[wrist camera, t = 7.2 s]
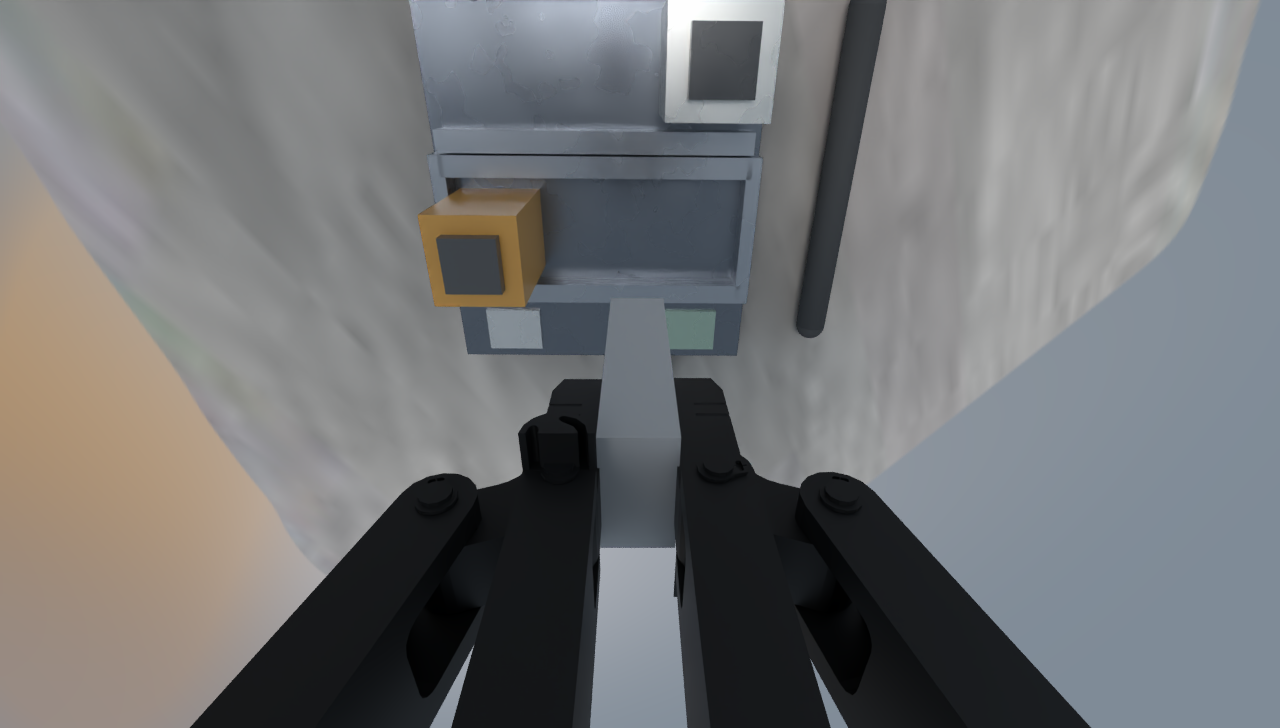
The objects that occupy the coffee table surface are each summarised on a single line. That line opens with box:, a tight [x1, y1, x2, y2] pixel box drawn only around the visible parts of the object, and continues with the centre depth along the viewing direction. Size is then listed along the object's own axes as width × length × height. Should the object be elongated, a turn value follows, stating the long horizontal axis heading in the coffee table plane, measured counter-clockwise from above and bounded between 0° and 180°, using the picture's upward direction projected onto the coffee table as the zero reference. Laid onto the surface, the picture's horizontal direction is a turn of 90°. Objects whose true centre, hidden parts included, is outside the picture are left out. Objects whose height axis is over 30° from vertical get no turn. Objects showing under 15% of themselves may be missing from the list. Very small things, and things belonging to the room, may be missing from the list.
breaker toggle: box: [418, 188, 546, 307], centre depth 25 cm, size 4×4×7 cm
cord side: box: [796, 0, 887, 338], centre depth 28 cm, size 18×2×2 cm, turn 179°
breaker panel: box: [409, 0, 785, 356], centre depth 25 cm, size 19×16×9 cm
